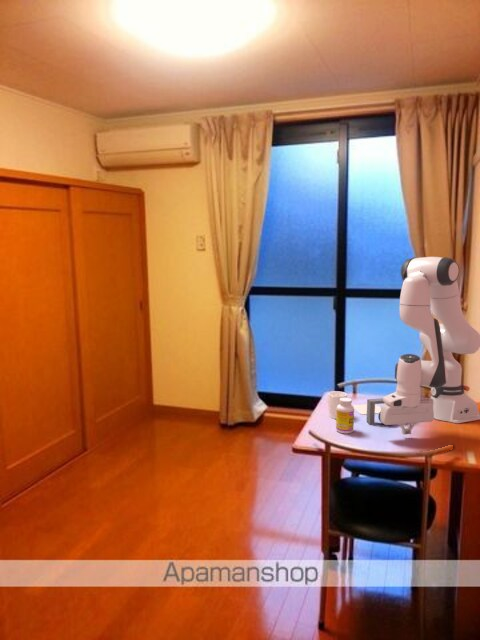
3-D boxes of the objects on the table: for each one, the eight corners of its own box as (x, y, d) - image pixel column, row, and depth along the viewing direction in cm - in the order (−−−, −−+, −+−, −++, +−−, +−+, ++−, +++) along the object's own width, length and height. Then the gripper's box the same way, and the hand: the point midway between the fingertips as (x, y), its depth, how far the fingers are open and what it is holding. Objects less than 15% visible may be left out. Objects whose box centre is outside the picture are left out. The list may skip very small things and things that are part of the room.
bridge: (366, 422, 202) (367, 399, 201) (400, 419, 205) (401, 397, 203) (369, 424, 199) (370, 401, 198) (403, 422, 202) (405, 399, 200)
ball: (388, 415, 204) (392, 406, 200) (393, 427, 199) (398, 417, 196) (374, 416, 203) (378, 406, 199) (379, 427, 198) (383, 418, 195)
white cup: (348, 419, 205) (348, 396, 203) (329, 419, 205) (329, 396, 204) (344, 413, 213) (345, 391, 211) (326, 413, 213) (326, 391, 211)
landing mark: (375, 404, 225) (375, 403, 225) (387, 412, 213) (387, 412, 213) (350, 405, 222) (350, 405, 222) (361, 414, 211) (361, 414, 211)
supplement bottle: (349, 435, 188) (350, 403, 186) (333, 432, 192) (334, 400, 190) (355, 429, 194) (356, 398, 192) (339, 426, 197) (340, 395, 195)
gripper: (429, 394, 188) (427, 428, 190) (378, 397, 185) (377, 432, 187) (438, 399, 182) (436, 434, 184) (386, 402, 178) (385, 439, 181)
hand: (406, 433), depth 185 cm, fingers closed
